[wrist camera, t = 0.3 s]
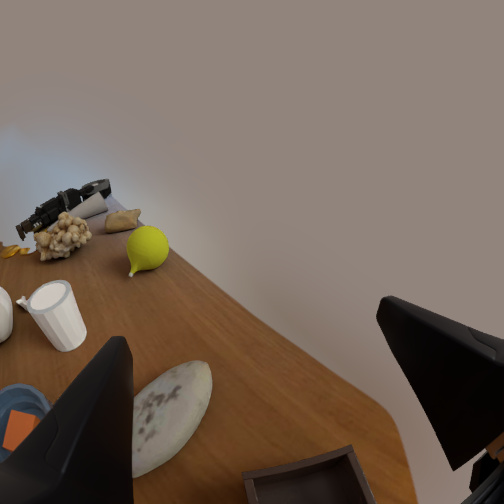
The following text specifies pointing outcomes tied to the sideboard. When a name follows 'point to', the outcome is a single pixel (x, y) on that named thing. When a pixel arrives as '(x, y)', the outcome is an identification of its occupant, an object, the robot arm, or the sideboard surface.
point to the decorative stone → (168, 414)
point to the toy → (53, 209)
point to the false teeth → (23, 302)
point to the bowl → (20, 407)
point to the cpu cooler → (98, 188)
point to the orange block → (18, 429)
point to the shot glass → (58, 315)
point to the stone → (121, 220)
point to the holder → (311, 481)
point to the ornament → (146, 249)
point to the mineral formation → (62, 237)
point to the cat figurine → (5, 315)
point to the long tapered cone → (87, 208)
